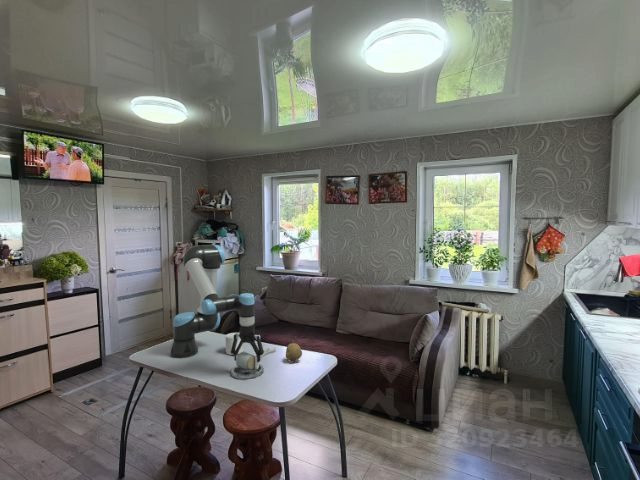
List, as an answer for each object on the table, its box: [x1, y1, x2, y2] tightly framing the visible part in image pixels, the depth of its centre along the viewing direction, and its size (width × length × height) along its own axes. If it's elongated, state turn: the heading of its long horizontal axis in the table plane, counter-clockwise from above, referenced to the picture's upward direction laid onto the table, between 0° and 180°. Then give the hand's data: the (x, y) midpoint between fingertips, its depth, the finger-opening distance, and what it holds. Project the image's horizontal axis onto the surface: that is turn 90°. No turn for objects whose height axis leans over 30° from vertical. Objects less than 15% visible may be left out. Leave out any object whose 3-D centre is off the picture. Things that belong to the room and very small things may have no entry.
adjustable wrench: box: [260, 347, 277, 360], centre depth 193 cm, size 25×6×2 cm, turn 151°
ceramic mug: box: [235, 351, 256, 370], centre depth 172 cm, size 11×8×8 cm
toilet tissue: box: [225, 332, 245, 356], centre depth 200 cm, size 11×12×10 cm
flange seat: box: [230, 363, 265, 380], centre depth 171 cm, size 16×16×2 cm
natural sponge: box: [285, 342, 303, 362], centre depth 186 cm, size 9×9×10 cm
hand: (247, 367), depth 171 cm, fingers closed on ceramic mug, 10 cm apart
